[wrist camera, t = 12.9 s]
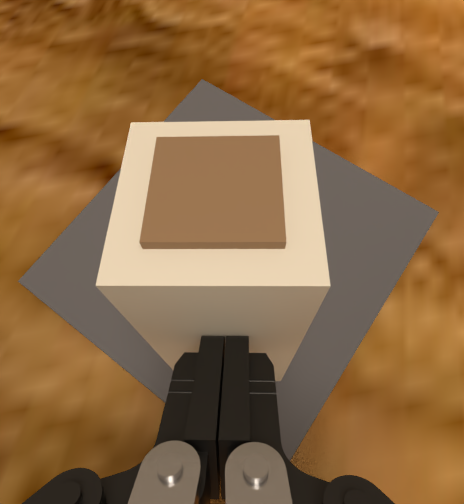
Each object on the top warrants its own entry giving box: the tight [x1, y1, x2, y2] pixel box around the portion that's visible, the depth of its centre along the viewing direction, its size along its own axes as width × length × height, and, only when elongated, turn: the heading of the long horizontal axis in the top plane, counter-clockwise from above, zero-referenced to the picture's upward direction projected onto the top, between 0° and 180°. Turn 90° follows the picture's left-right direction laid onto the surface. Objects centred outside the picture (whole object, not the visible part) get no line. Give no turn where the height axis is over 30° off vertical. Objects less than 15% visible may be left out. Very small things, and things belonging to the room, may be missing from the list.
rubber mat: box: [18, 79, 439, 461], centre depth 22 cm, size 18×18×1 cm
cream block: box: [96, 120, 330, 381], centre depth 14 cm, size 5×5×12 cm
